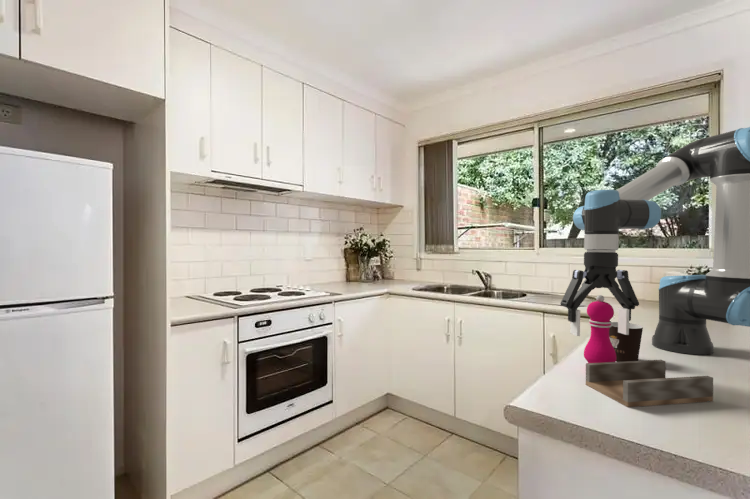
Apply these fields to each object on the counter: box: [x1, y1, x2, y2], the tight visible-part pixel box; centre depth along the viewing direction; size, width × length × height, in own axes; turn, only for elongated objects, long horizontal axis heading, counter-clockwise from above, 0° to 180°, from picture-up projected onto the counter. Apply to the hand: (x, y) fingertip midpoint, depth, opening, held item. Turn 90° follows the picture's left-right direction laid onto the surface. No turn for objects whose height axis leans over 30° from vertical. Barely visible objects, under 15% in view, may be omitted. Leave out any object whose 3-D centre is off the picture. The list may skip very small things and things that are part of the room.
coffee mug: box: [609, 321, 644, 362], centre depth 109 cm, size 12×9×10 cm
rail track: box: [585, 359, 714, 408], centre depth 85 cm, size 20×12×5 cm, turn 98°
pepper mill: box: [583, 294, 617, 363], centre depth 97 cm, size 7×7×20 cm
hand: (599, 334), depth 97 cm, fingers open, 13 cm apart
